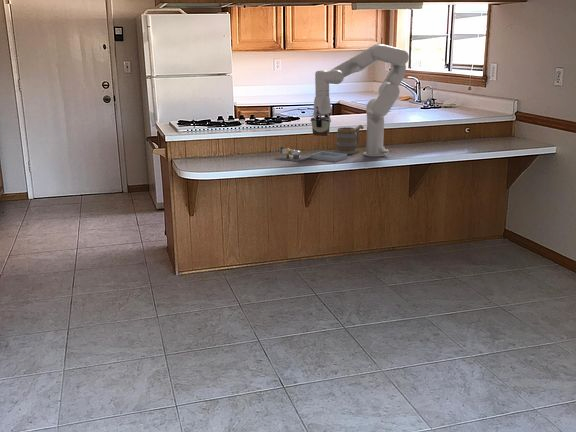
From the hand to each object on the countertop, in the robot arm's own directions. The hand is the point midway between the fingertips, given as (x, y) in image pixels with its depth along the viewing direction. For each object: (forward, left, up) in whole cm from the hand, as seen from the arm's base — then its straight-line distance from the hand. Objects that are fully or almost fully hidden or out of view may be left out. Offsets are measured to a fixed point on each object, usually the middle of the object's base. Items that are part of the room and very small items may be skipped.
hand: (322, 126), depth 336 cm
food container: (0, 0, -5) cm, 5 cm away
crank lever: (+12, +15, -16) cm, 25 cm away
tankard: (-5, -23, -17) cm, 29 cm away
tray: (-7, +3, -17) cm, 19 cm away
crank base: (+7, +14, -17) cm, 24 cm away
